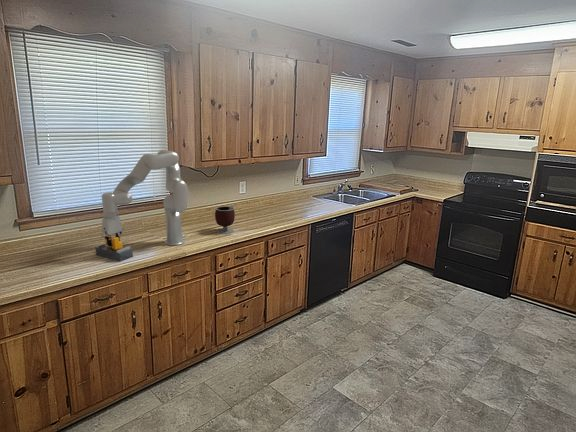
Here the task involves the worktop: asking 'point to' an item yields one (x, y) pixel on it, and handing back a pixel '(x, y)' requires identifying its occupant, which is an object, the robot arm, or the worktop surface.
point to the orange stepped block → (115, 243)
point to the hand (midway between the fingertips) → (113, 244)
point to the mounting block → (114, 252)
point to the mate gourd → (225, 218)
